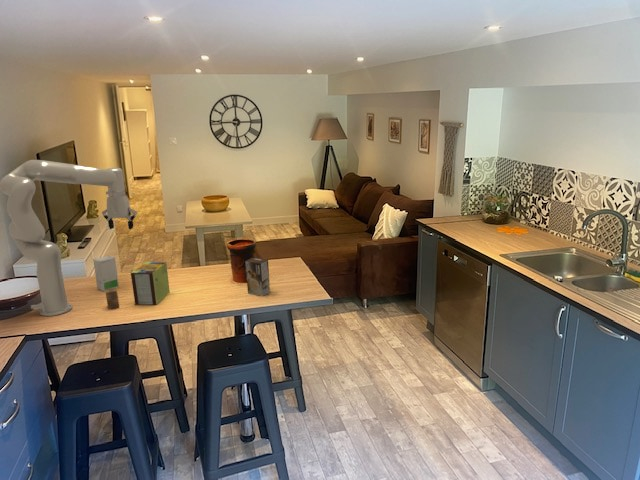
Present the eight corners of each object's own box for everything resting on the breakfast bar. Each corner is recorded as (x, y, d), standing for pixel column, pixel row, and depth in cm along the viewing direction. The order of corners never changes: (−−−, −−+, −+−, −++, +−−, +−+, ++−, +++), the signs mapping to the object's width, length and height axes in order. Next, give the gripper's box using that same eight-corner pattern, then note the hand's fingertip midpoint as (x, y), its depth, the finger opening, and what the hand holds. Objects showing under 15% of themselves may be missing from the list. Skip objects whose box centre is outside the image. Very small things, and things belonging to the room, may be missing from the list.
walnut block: (108, 309, 210) (105, 292, 208) (107, 306, 214) (105, 289, 212) (119, 307, 212) (116, 291, 210) (118, 304, 216) (116, 287, 214)
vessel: (225, 277, 247) (223, 240, 242) (252, 273, 253) (250, 237, 248) (232, 286, 235) (230, 247, 229) (260, 282, 241) (259, 243, 235)
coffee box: (270, 291, 227) (269, 259, 222) (263, 296, 221) (261, 263, 217) (254, 288, 231) (252, 257, 227) (246, 293, 226) (244, 261, 221)
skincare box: (103, 292, 231) (99, 261, 227) (96, 289, 235) (91, 259, 231) (119, 286, 238) (115, 256, 233) (112, 284, 241) (108, 254, 237)
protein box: (170, 292, 229) (166, 261, 225) (156, 305, 214) (152, 272, 210) (149, 292, 230) (145, 261, 226) (134, 304, 215) (129, 272, 211)
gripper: (95, 195, 226) (100, 230, 231) (130, 195, 225) (134, 230, 229) (103, 192, 234) (108, 226, 238) (137, 192, 232) (141, 226, 237)
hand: (121, 228), depth 234 cm, fingers open, 9 cm apart
